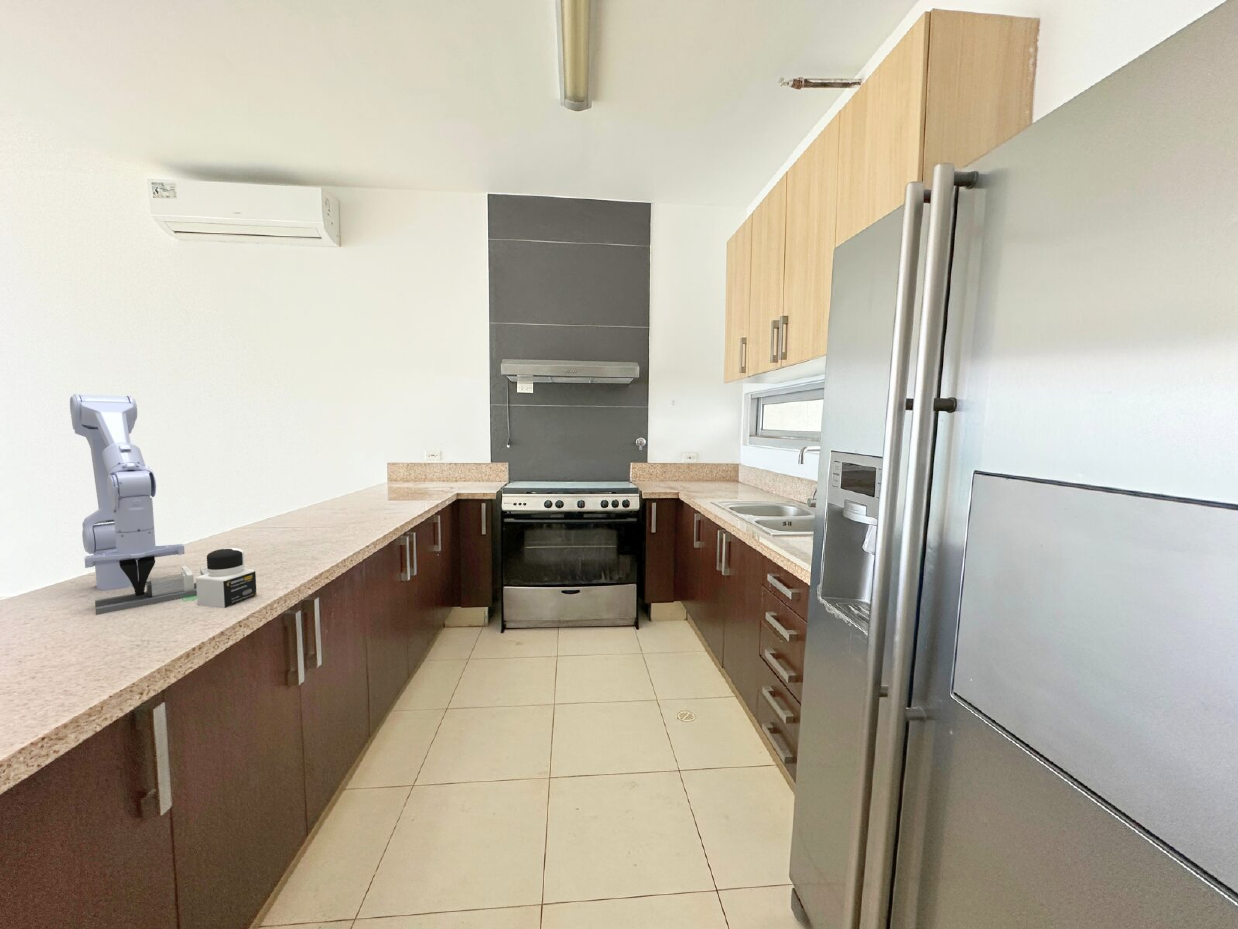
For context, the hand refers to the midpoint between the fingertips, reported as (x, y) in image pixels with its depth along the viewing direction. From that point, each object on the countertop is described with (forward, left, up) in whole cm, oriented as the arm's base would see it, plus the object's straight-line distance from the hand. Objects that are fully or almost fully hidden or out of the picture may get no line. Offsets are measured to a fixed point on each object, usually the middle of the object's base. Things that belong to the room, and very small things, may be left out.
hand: (139, 594), depth 102 cm
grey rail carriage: (0, +4, -2) cm, 4 cm away
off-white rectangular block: (0, +8, -2) cm, 8 cm away
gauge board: (0, +3, -3) cm, 4 cm away
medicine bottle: (+11, +13, -3) cm, 17 cm away
